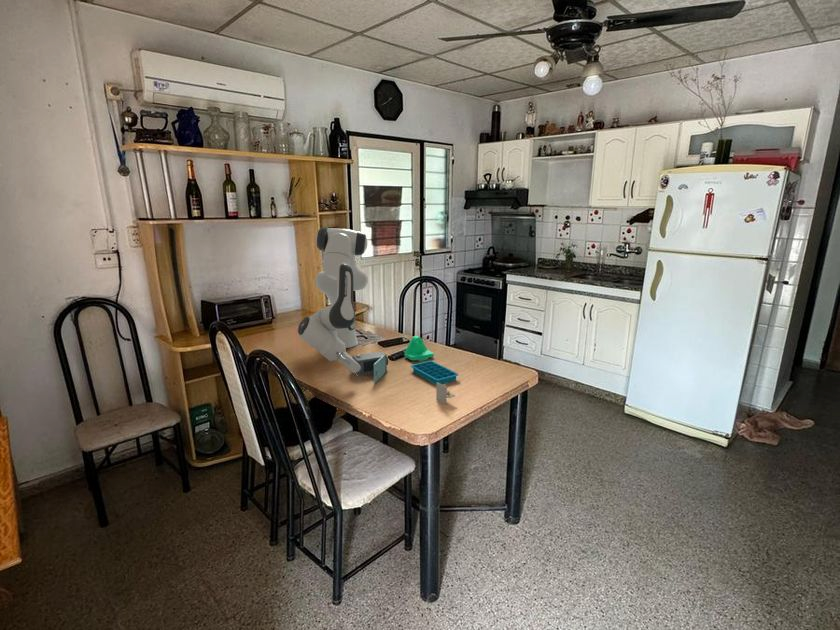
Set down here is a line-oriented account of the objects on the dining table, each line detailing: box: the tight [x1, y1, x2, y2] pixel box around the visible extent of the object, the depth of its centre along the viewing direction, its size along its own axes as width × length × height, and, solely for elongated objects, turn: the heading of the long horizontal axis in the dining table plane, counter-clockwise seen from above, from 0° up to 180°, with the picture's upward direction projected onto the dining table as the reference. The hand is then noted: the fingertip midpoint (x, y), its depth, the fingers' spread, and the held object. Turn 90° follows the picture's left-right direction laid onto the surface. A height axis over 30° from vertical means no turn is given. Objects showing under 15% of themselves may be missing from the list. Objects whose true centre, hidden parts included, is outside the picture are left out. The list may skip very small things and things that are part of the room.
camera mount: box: [403, 335, 434, 362], centre depth 206 cm, size 12×8×10 cm, turn 122°
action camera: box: [351, 351, 389, 377], centre depth 190 cm, size 15×7×8 cm, turn 117°
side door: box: [373, 353, 387, 384], centre depth 182 cm, size 13×1×8 cm, turn 165°
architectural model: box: [435, 382, 456, 405], centre depth 161 cm, size 3×7×7 cm, turn 38°
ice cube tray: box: [410, 360, 459, 386], centre depth 186 cm, size 12×20×3 cm, turn 34°
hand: (358, 369), depth 175 cm, fingers closed
